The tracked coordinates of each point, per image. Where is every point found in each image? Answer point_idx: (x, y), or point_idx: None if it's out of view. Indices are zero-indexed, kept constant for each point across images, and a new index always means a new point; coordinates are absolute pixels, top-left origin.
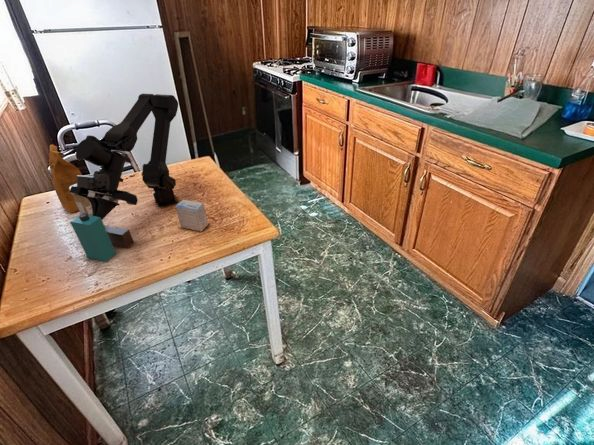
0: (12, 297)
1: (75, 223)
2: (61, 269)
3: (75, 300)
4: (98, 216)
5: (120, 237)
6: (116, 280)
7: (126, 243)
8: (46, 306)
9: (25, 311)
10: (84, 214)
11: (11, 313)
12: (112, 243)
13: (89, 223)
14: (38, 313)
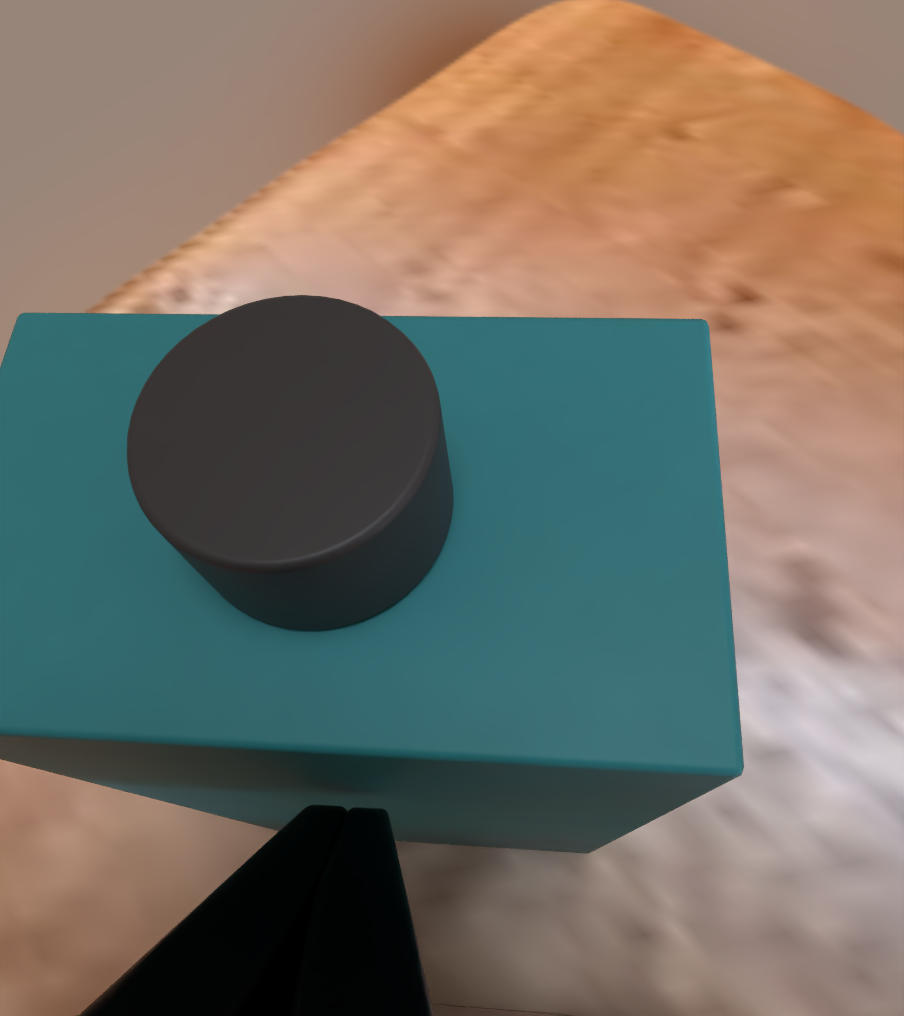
0: (807, 119)
1: (510, 336)
2: (724, 446)
3: (268, 203)
4: (178, 934)
5: None
6: None
7: None
8: (449, 121)
9: (562, 64)
10: (262, 464)
11: (645, 34)
12: (434, 1008)
13: (54, 365)
14: (452, 73)
